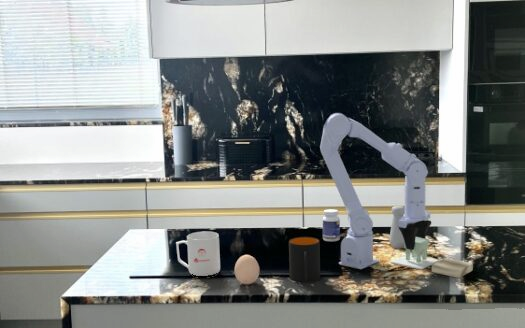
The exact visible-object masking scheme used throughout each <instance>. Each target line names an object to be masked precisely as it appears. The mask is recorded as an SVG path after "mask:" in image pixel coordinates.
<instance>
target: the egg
mask: <svg viewBox="0 0 525 328" xmlns="http://www.w3.org/2000/svg"><path fill="white" fill-rule="evenodd" d="M234 265H235V266H234V275H235V276H234V277H235V278H236V279H237V281H239V282H240V283H242V284H243V285H251V284H253V283H254V282H256V281H257V279H259V276H260V266H259V263H258V261H257V260H256V258H255V257H253V256H251V255H250V254H244V255H241V256H240V257H239V258H238V259H237V261H236V262H235V264H234Z"/></svg>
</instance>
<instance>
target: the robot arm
mask: <svg viewBox="0 0 525 328" xmlns="http://www.w3.org/2000/svg"><path fill="white" fill-rule="evenodd" d="M347 136H348V137H350V138H359V139H360V140H362V141H364V142H365V143H367V144H368V145H370V146H371V147H373V148H374V149H376V150H378V151H379V152H380V153H381V159H382V160H383V161H385V162H386V163H387V164H389V165H390V166H392V167H393V168H395V169H396V170H398V171H399V172H403V174H404V175H405V176H404V177H405V178H404V180H405V184H404V208H405V214H403V215H404V216H403V217H402V219H401V220H399V225H398V228H399V230H400V231H401V233H402V235H403V238H404V242H405V245H406V249H410V251H412V250H414V246H415V238H416V237H420V238H425V239H426V237H427V233H428V231H429V228H430V226H431V225H432V221H431V220H430V219H431V211H427V210H426V184H425V183H426V178H427V176H428V174H429V171H428V168H427V166H426V164H425V163H424V162H423V161H422V160H420V159H419V158H418V157H417V155H416V154H414V153H410V152H409V151H408V150H406V149H404V148H403V145H402V144H401V143H396V142H388V143H387V142H386V141H385V140H383V139H382V138H381V137H379V136H378V135H377V134H375V133H374V132H373V131H372V130H370V129H368V128H367V127H366V126H364V124H362V123H360V122H359V121H356V120H354V119H352V118H351V117H347V116H346V115H345V114H343V113H341V112H335V113H334V112H333V113H332V114H330V115H329V117H328V118H327V119H326V121H325V123H324V125H323V128H322V135H321V141H320V145H319V148H320V154H321V155H322V158H323V159H324V162H325V164H326V167H327V169H328V171H329V173H330V176H331V178H332V180H333V182H334V184H335V187H336V189H337V191H338V193H339V195H340V197H341V200H342V202H343V204H344V207H345V210H346V211H347V220H348V222H349V228H348V229H347V234H346V236H345V237H344V238H343V239H342V240H341V242H340V261H339V262H338V264H339V265H340V266H345V267H348V268H349V267H350V268H353V269H358V270H363V269H366V268H368V267H370V266H372V265H374V264H376V263H379V262H380V259H376V258H374V239H373V238H374V237H373V235H374V232H373V230H372V229H373V226H374V224H373V220H372V218H371V216H370V213H369V212H368V210H367V209H366V208H364V207H363V205H362V203H361V201H360V199H359V196H358V194H357V192H356V190H355V187H354V185H353V183H352V181H351V179H350V177H349V174H348V172H347V169H346V167H345V165H344V162H343V160H342V158H341V155H340V153H339V151H338V150H339V147H340V145H341V143H342V141H343V139H344V138H345V137H347ZM406 249H405V250H406Z"/></svg>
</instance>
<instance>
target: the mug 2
mask: <svg viewBox="0 0 525 328" xmlns="http://www.w3.org/2000/svg"><path fill="white" fill-rule="evenodd" d="M320 244H321V243H320V239H319V238H316V237H312V236H299V237H293V238H291V239H289V240H288V255H289V256H288V257H289V258H288V259H289V279H290V280H291V281H292V282H295V283H301V284H305V283H306V284H307V283H313V282H317V281H319V280H320V279H321V255H320V254H321V253H320V251H321V250H320V248H321V247H320Z"/></svg>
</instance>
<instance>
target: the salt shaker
mask: <svg viewBox="0 0 525 328" xmlns="http://www.w3.org/2000/svg"><path fill="white" fill-rule="evenodd" d="M391 214H392V222H391V226H390V233H389V238H388V239H389V243H390V245H391V246H390V247H392V248H394V249H405V248H404V238H403V235H402V233H401V231H400V230H399V228H398V225H399V220H401V219H402V217H403V216H404V215H405V206H403V205H394V206H392V207H391Z"/></svg>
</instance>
